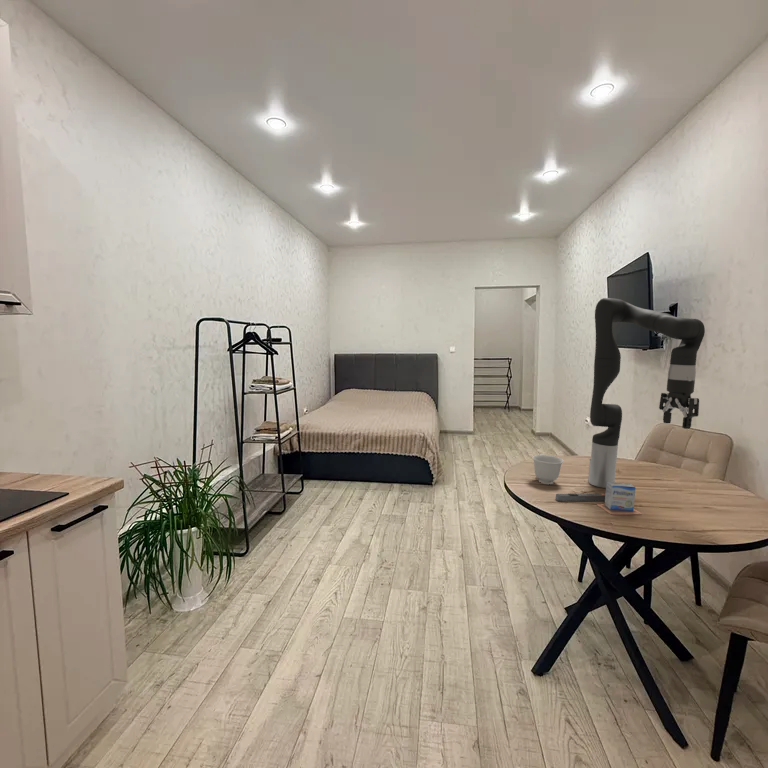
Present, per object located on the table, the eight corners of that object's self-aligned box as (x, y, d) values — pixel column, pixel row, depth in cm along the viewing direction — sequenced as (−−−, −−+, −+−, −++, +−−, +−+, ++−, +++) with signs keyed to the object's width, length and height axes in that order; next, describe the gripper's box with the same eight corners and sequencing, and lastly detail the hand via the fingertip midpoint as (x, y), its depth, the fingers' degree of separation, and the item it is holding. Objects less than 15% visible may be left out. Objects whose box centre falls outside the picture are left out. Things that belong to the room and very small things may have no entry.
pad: (597, 505, 147) (597, 503, 147) (626, 504, 148) (626, 503, 148) (610, 514, 139) (610, 513, 139) (641, 514, 140) (641, 513, 140)
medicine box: (609, 510, 142) (611, 485, 141) (604, 505, 146) (606, 481, 145) (633, 511, 141) (636, 487, 140) (627, 506, 146) (629, 482, 145)
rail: (555, 499, 152) (556, 487, 151) (618, 499, 153) (619, 487, 153) (558, 501, 150) (559, 489, 149) (621, 501, 151) (622, 489, 151)
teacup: (552, 475, 179) (554, 453, 178) (566, 487, 164) (568, 463, 163) (524, 474, 179) (525, 452, 178) (536, 486, 164) (538, 462, 163)
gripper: (655, 376, 146) (650, 421, 147) (687, 380, 131) (682, 430, 133) (675, 376, 146) (670, 421, 148) (709, 380, 132) (704, 430, 134)
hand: (676, 425), depth 141 cm, fingers open, 8 cm apart
